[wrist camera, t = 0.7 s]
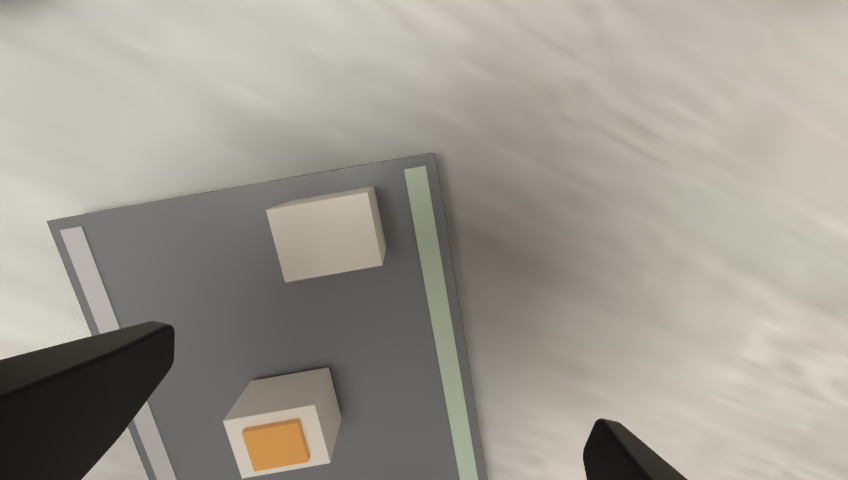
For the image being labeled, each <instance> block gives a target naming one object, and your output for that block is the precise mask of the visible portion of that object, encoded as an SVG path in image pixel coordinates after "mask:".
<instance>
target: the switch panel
mask: <svg viewBox="0 0 848 480" xmlns="http://www.w3.org/2000/svg"><path fill="white" fill-rule="evenodd" d="M47 223H48V226H49V228H50V231H51V233H52V236H53V238H54V241H55V243H56V246H57V248H58V251H59V253H60V256H61V258H62V261H63V264H64V266H65V269H66V271H67V274H68V276H69V279H70V281H71V284H72V286H73V289H74V291H75V294H76V296H77V299H78V301H79V304H80V307H81V309H82V312H83V314H84V317H85V319H86V322H87V324H88V327H89V329H90V332H91V334H92V336H95V335H98V334H102V333H106V332H110V331H114V330H118V329H121V328H125V327H129V326H133V325H137V324H141V323H144V322H148V321H158V322H162V323H167V324H170V325H172V326H173V327H174V330H175V347H174V362H173V365H172V367H171V369H170V370H169V372H168V373H167V375H166V376H165V377H164V379H163V380H162V381H161V383H160V384H159V385H158V387H157V388H156V389H155V391H154V392H153V393H152V395H151V396H150V397H149V399H148V400H147V401H146V403H145V404H144V405H143V407H142V408H141V409H140V411H139V412H138V413H137V415H136V416H135V417H134V419H133V420H132V421H131V423H130V424H129V425H128V428H129V430H130V433H131V435H132V438H133V441H134V443H135V446H136V448H137V451H138V453H139V456H140V458H141V461H142V463H143V466H144V468H145V471H146V473H147V476H148V478H149V480H487V476H486V470H485V463H484V457H483V451H482V445H481V439H480V432H479V426H478V420H477V414H476V408H475V401H474V395H473V389H472V383H471V377H470V371H469V364H468V358H467V352H466V346H465V340H464V333H463V327H462V321H461V315H460V309H459V302H458V296H457V290H456V284H455V278H454V272H453V265H452V259H451V253H450V247H449V241H448V234H447V228H446V222H445V216H444V210H443V203H442V197H441V191H440V185H439V179H438V173H437V166H436V160H435V154H434V153H428V154H422V155H417V156H411V157H405V158H399V159H394V160H388V161H382V162H377V163H371V164H365V165H360V166H354V167H348V168H343V169H337V170H331V171H326V172H320V173H314V174H309V175H303V176H297V177H292V178H286V179H280V180H275V181H269V182H263V183H257V184H252V185H246V186H240V187H235V188H229V189H223V190H218V191H212V192H206V193H201V194H195V195H189V196H184V197H178V198H172V199H167V200H161V201H155V202H150V203H144V204H138V205H133V206H127V207H121V208H116V209H110V210H104V211H98V212H93V213H87V214H82V215H76V216H71V217H66V218H60V219H55V220H50V221H47ZM328 367H329V371H330V375H331V378H332V382H333V386H334V390H335V394H336V398H337V402H338V406H339V410H340V414H341V418H342V419H341V423H340V427H339V430H338V434H337V438H336V442H335V446H334V450H333V454H332V458H331V462H330V463H328V464H322V465H317V466H311V467H305V468H300V469H294V470H288V471H283V472H277V473H271V474H266V475H260V476H254V477H249V478H243V479H242V477H241V474H240V471H239V468H238V465H237V462H236V459H235V456H234V453H233V450H232V447H231V444H230V441H229V438H228V435H227V432H226V429H225V426H224V423H223V420H224V419H225V417H226V416H227V414H228V413H229V411H230V410H231V409H232V407H233V406H234V404H235V403H236V401H237V400H238V398H239V397H240V396H241V394H242V393H243V391H244V390H245V388H246V387H247V385H248V384H249V383H250V381H254V380H259V379H265V378H271V377H276V376H282V375H288V374H293V373H299V372H305V371H310V370H316V369H322V368H328Z"/></svg>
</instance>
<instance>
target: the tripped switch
mask: <svg viewBox="0 0 848 480" xmlns="http://www.w3.org/2000/svg"><path fill="white" fill-rule="evenodd" d="M341 419H342V418H341V414H340V410H339V406H338V402H337V398H336V394H335V390H334V386H333V382H332V378H331V375H330V371H329V367H328V368H322V369H316V370H310V371H305V372H299V373H293V374H288V375H282V376H276V377H271V378H265V379H259V380H254V381H250V383H249V384H248V385H247V387H246V388H245V390H244V391H243V393H242V394H241V396H240V397H239V398H238V400H237V401H236V403H235V404H234V406H233V407H232V409H231V410H230V411H229V413H228V414H227V416H226V417H225V419H224V420H223V423H224V426H225V429H226V432H227V435H228V438H229V441H230V444H231V447H232V450H233V453H234V456H235V459H236V462H237V465H238V468H239V471H240V474H241V477H242V479H243V478H249V477H254V476H260V475H266V474H271V473H277V472H283V471H288V470H294V469H300V468H305V467H311V466H317V465H322V464H328V463H330V462H331V458H332V454H333V450H334V446H335V442H336V438H337V434H338V430H339V427H340V423H341Z"/></svg>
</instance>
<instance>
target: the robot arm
mask: <svg viewBox="0 0 848 480" xmlns="http://www.w3.org/2000/svg"><path fill="white" fill-rule="evenodd" d="M174 347H175V330H174V327H173V326H172V325H170V324H167V323H162V322H158V321H148V322H144V323H141V324H137V325H133V326H129V327H125V328H121V329H118V330H114V331H110V332H106V333H102V334H98V335H95V336H91V337H87V338H83V339H79V340H75V341H71V342H68V343H64V344H60V345H56V346H52V347H48V348H45V349H41V350H37V351H33V352H29V353H25V354H21V355H18V356H14V357H10V358H6V359H2V360H0V480H81V479H82V478H83V477H84V476H85V475H86V474H87V473H88V472H89V471H90V469H91V468H92V467H93V466H94V465H95V464H96V463H97V462H98V461H99V459H100V458H101V457H102V456H103V455H104V454H105V453H106V452H107V451H108V449H109V448H110V447H111V446H112V445H113V444H114V443H115V441H116V440H117V439H118V438H119V437H120V435H121V434H122V433H123V432H124V430H125V429H126V428H127V427H128V425H129V424H130V423H131V421H132V420H133V419H134V417H135V416H136V415H137V413H138V412H139V411H140V409H141V408H142V407H143V405H144V404H145V403H146V401H147V400H148V399H149V397H150V396H151V395H152V393H153V392H154V391H155V389H156V388H157V387H158V385H159V384H160V383H161V381H162V380H163V379H164V377H165V376H166V375H167V373H168V372H169V370H170V369H171V367H172V365H173V362H174ZM583 461H584V466H585V471H586V477H587V480H687V479H686V478H685V477H684V476H683V475H681V474H680V473H679V472H678V471H677V470H675V469H674V468H673V467H672V466H671V465H669V464H668V463H667V462H666V461H665V460H663V459H662V458H661V457H660V456H659V455H658V454H656V453H655V452H654V451H653V450H652V449H650V448H649V447H648V446H647V445H646V444H644V443H643V442H642V441H641V440H640V439H639V438H637V437H636V436H635V435H634V434H633V433H631V432H630V431H629V430H628V429H627V428H625V427H624V426H623V425H622V424H621V423H619V422H616V421H611V420H607V419H602V418H601V419H598V420H597V421H596V422H595V424H594V426H593V428H592V431H591V433H590V435H589V438H588V440H587V442H586V445H585V447H584V452H583Z"/></svg>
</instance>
